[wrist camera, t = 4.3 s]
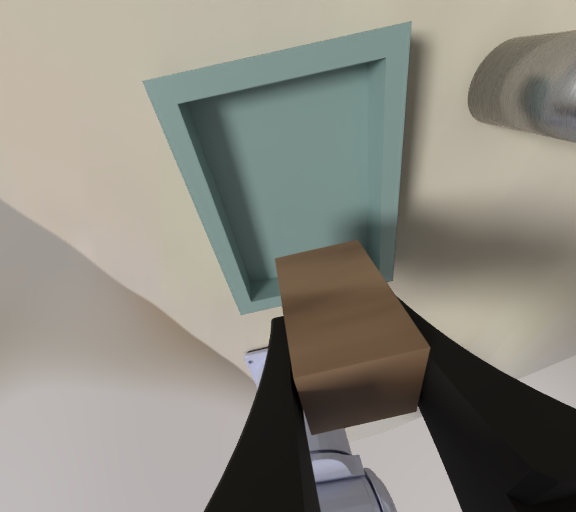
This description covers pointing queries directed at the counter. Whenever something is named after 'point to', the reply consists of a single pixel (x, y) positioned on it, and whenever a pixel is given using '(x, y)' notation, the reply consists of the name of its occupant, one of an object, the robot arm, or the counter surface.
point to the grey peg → (529, 86)
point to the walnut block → (348, 339)
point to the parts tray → (292, 152)
